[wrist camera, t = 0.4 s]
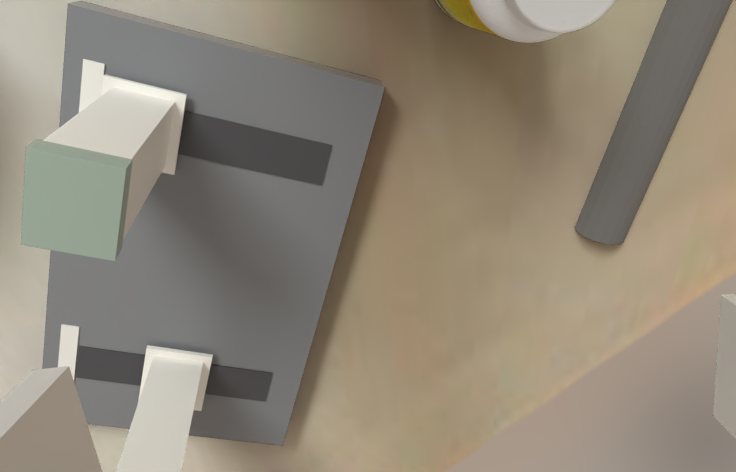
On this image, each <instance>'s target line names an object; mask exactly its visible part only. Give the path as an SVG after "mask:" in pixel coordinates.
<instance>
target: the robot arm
mask: <svg viewBox="0 0 736 472" xmlns="http://www.w3.org/2000/svg"><path fill="white" fill-rule="evenodd" d="M713 416H714V417H715V418H716V419H717V420H718V421H719V422H720V423H721V424H722V425H723V426H724V427H725V429H726V430H727V431H728V432H729V433H730V434H732V436H733V437H734V438H735V439H736V293H735V294H727V295H721V304H720V319H719V334H718V348H717V363H716V380H715V394H714V410H713ZM0 472H102V469H101V466H100V463H99V460H98V457H97V453H96V450H95V447H94V444H93V441H92V438H91V434H90V431H89V428H88V425H87V422H86V418H85V415H84V412H83V409H82V406H81V402H80V399H79V396H78V393H77V390H76V387H75V383H74V380H73V377H72V374H71V371H70V367H69V366H65V367H56V368H46V369H37V370H32V371H31V372H30V373H29V374H28V375H27V376H26V377H25V378H24V379H23V380H22V381H21V382H20V383H19V384H18V385H16V386H15V387H14V388H13V389H12V390H11V391H10V392H9V393H8V394H7V395H6V396H5V397H4V398H3V399H2V400H1V401H0Z"/></svg>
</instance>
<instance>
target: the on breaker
mask: <svg viewBox="0 0 736 472" xmlns="http://www.w3.org/2000/svg"><path fill="white" fill-rule="evenodd" d="M186 98H187V94H184V93H180V92H176V91H172V90H168V89H164V88H159V87H155V86H151V85H147V84H143V83H139V82H135V81H130V80H126V79H122V78H118V77H114V76H110V75H106V74H105V75H103V84H102V94H101V96H100V97H99V98H98V99H97V100H95V101H94V102H93V103H91V104H90V105H89V106H87V107H86V108H85V109H83V110H82V111H81V112H79V113H78V114H77V115H76V116H74V117H73V118H72V119H70V120H69V121H68V122H66V123H65V124H64V125H62V126H61V127H60V128H58V129H57V130H56V131H54V132H53V133H52V134H51V135H49V136H48V137H47V138H45V139H44V140H38V139H37V140H35V141H34V142H33V143H31V144H30V145H28V146H27V147H26V150H25V171H24V192H23V214H22V235H21V245H25V246H31V247H37V248H42V249H48V250H54V251H60V252H66V253H71V254H77V255H83V256H89V257H94V258H100V259H106V260H112V261H115V260H116V259H117V257H118V255H119V253H120V251H121V250H122V243H123V239H124V237H125V235H126V234H127V232H128V230H129V228H130V227H131V225H132V223H133V221H134V220H135V218H136V216H137V214H138V213H139V211H140V209H141V207H142V206H143V204H144V202H145V200H146V199H147V197H148V195H149V193H150V192H151V190H152V188H153V186H154V185H155V183H156V181H157V179H158V178H159V176H160V174H161V172H162V173H167V174H171V175H174V174H175V169H176V163H177V156H178V150H179V144H180V137H181V131H182V124H183V118H184V111H185V105H186Z"/></svg>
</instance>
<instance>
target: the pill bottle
mask: <svg viewBox="0 0 736 472" xmlns="http://www.w3.org/2000/svg"><path fill="white" fill-rule="evenodd" d="M436 2H437V4H438V5H439V6H440V8H441V9H442V10H443V11H444V12H445V13H446V14H447V15H448V16H450V17H451V18H452V19H454V20H456V21H457V22H460V23H461V24H464V25H466V26H469V27H472V28H475V29H478V30H481V31H484V32H487V33H490V34H493V35H496V36H499V37H502V38H505V39H508V40H511V41H515V42H524V43H535V42H542V41H546V40H550V39H552V38H555V37H558V36H560V35H562V34H564V33H568V32H573V31H577V30H580V29H582V28H584V27H586V26H588V25H590V24H592V23H593V22H595V21H596V20H598V19H599V18H600V17H601V16H602V15H603V14H604V13H606V11H607V10H608V9H609V8H610V7H611V6H612V4H613V3H614V2H615V0H436Z"/></svg>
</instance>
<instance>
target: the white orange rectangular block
mask: <svg viewBox="0 0 736 472" xmlns="http://www.w3.org/2000/svg"><path fill="white" fill-rule="evenodd" d="M212 357H213V355H212V354H205V353H198V352H191V351H184V350H177V349H171V348H164V347H157V346H150V345H147V348H146V354H145V360H144V367H143V374H142V380H141V387H140V393H139V400H138V405H137V408H136V411H135V414H134V417H133V420H132V423H131V426H130V430H129V433H128V436H127V439H126V442H125V445H124V448H123V451H122V454H121V457H120V460H119V463H118V466H117V469H116V472H181V470H182V465H183V460H184V455H185V450H186V445H187V440H188V435H189V430H190V425H191V420H192V415H193V410H196V411H201V410H202V405H203V400H204V396H205V391H206V386H207V381H208V376H209V372H210V367H211V362H212Z"/></svg>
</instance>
